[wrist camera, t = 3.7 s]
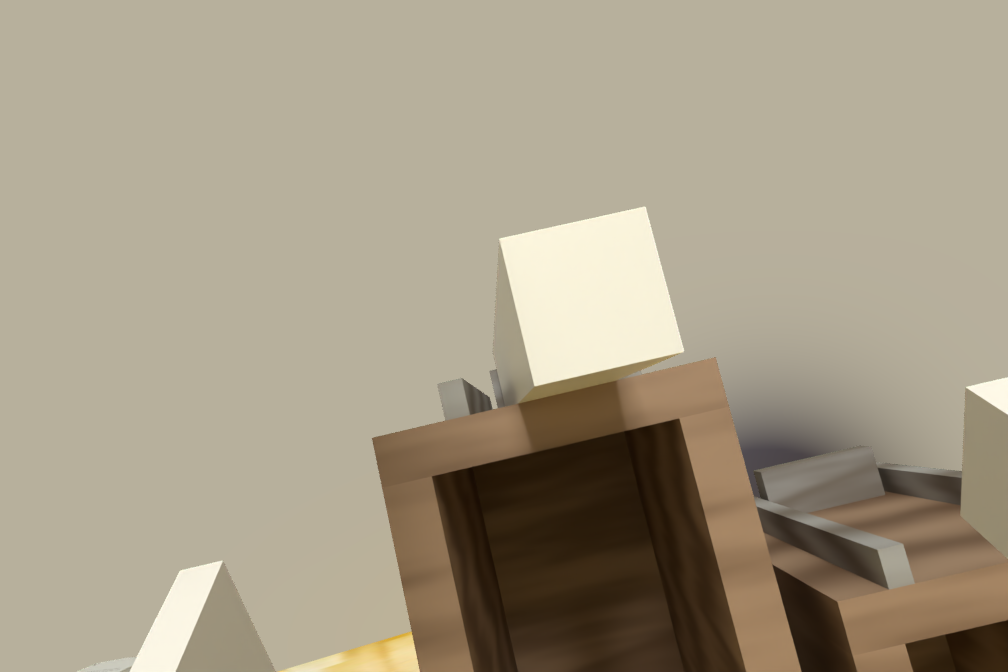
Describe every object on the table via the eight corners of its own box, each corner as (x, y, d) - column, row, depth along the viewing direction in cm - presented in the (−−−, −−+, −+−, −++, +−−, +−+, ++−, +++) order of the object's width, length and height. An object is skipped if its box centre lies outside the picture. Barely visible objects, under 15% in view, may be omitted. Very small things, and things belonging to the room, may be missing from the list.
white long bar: (684, 351, 18) (645, 206, 19) (534, 386, 18) (499, 238, 19) (569, 400, 44) (554, 338, 45) (507, 414, 44) (492, 352, 44)
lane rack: (1408, 1104, 24) (1085, 193, 28) (549, 1299, 24) (356, 364, 29) (1012, 798, 44) (857, 288, 48) (540, 906, 44) (427, 389, 48)
